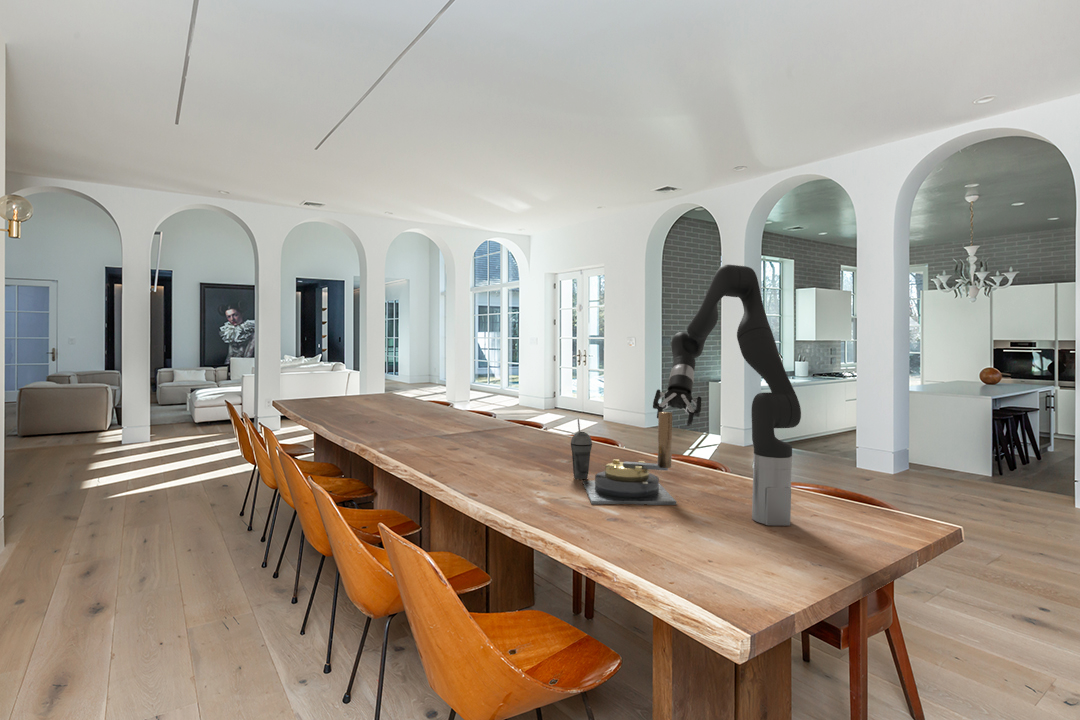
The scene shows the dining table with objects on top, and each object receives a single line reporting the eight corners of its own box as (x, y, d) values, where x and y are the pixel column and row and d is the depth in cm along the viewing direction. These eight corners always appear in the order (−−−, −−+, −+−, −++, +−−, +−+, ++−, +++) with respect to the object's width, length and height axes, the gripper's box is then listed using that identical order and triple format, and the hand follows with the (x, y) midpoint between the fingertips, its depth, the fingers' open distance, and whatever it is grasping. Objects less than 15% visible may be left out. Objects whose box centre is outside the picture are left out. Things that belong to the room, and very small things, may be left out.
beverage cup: (592, 481, 193) (593, 420, 192) (570, 480, 193) (571, 419, 192) (590, 476, 200) (591, 417, 199) (569, 475, 200) (570, 417, 199)
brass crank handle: (601, 479, 173) (602, 412, 172) (608, 470, 185) (610, 407, 185) (669, 484, 168) (671, 415, 167) (672, 475, 180) (673, 410, 179)
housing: (676, 504, 166) (676, 486, 166) (591, 504, 165) (591, 485, 165) (657, 484, 190) (657, 467, 190) (582, 483, 189) (583, 467, 189)
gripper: (659, 370, 186) (651, 409, 176) (705, 377, 182) (699, 418, 172) (657, 385, 191) (649, 424, 181) (702, 392, 188) (696, 433, 178)
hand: (674, 421), depth 177 cm, fingers open, 8 cm apart
